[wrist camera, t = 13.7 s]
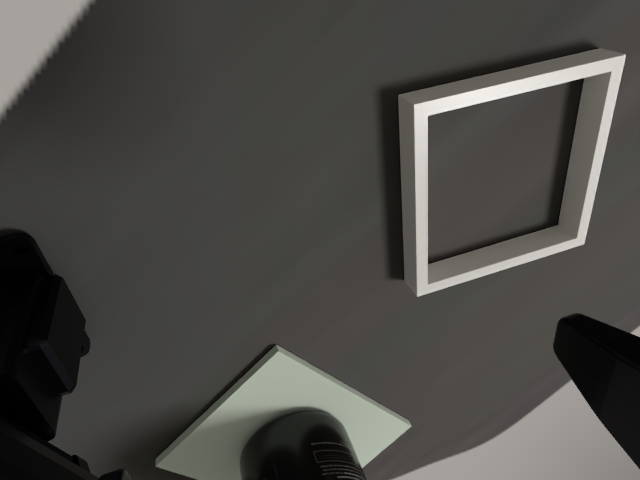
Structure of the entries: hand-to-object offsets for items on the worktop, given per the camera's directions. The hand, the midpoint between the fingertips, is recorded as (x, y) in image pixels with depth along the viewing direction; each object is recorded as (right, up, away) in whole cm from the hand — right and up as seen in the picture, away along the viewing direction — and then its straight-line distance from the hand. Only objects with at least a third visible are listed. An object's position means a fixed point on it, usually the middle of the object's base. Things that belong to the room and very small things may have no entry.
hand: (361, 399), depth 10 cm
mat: (-3, -9, +21) cm, 23 cm away
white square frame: (+8, +6, +15) cm, 18 cm away
